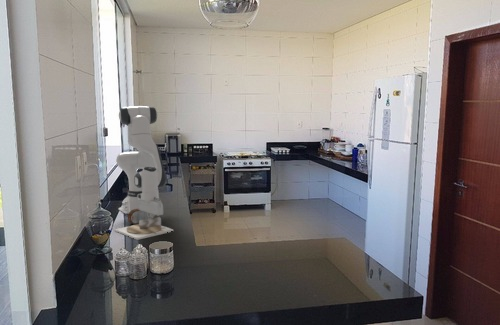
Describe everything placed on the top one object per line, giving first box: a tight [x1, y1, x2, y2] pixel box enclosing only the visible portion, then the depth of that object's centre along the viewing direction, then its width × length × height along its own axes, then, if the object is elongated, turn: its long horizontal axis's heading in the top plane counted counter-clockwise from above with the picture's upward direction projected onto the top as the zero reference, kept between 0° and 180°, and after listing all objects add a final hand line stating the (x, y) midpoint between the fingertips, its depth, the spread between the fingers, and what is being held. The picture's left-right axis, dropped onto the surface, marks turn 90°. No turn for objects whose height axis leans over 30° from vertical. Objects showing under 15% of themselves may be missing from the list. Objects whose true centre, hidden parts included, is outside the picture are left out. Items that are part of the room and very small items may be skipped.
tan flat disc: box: [127, 216, 162, 234], centre depth 209 cm, size 19×18×5 cm
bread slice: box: [127, 208, 148, 225], centre depth 226 cm, size 15×3×8 cm, turn 141°
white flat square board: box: [114, 224, 174, 241], centre depth 209 cm, size 22×22×1 cm
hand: (150, 220), depth 219 cm, fingers closed
